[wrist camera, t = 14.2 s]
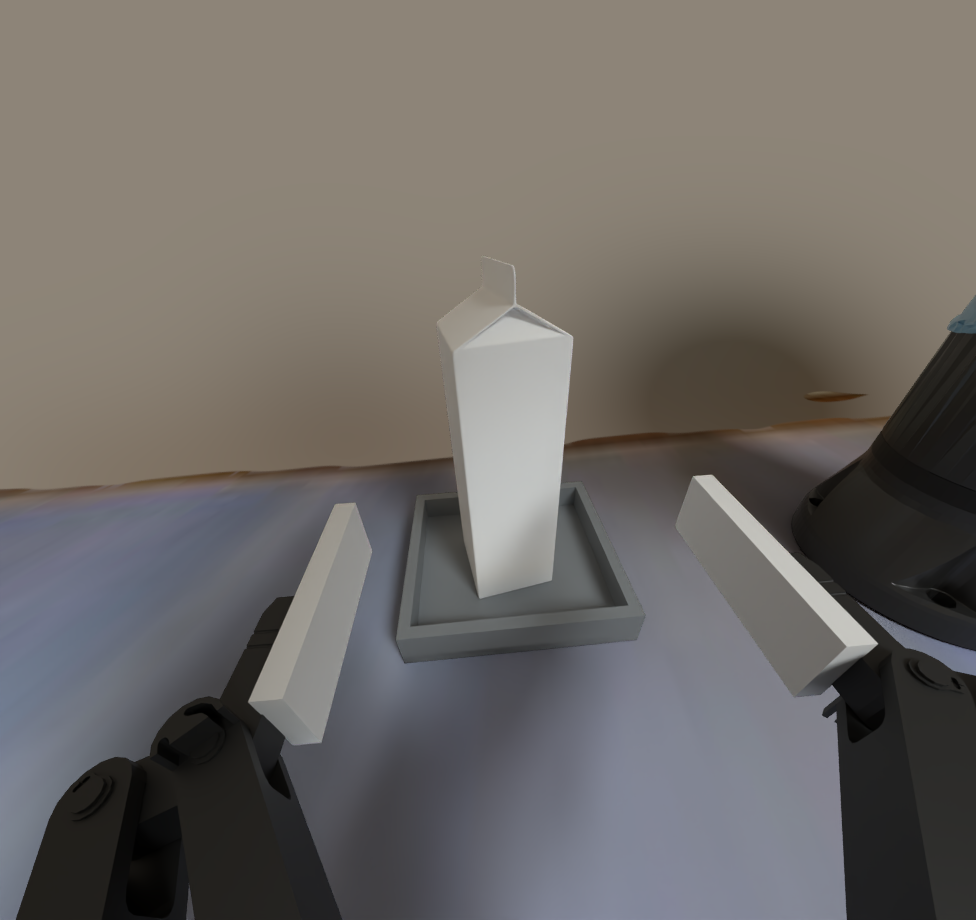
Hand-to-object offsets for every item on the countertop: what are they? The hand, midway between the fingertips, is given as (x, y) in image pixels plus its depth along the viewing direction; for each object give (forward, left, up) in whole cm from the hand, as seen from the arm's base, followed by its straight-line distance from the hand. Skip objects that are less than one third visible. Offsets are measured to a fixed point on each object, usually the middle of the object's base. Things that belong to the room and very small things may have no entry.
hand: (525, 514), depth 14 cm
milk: (0, -9, -14) cm, 17 cm away
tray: (0, -9, -15) cm, 17 cm away
